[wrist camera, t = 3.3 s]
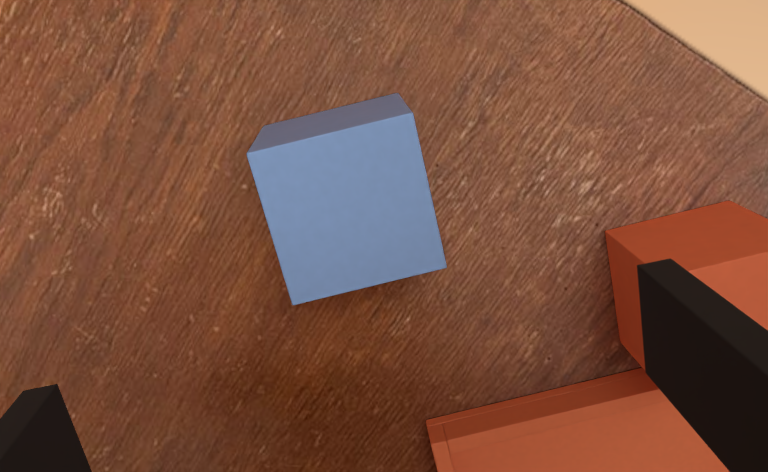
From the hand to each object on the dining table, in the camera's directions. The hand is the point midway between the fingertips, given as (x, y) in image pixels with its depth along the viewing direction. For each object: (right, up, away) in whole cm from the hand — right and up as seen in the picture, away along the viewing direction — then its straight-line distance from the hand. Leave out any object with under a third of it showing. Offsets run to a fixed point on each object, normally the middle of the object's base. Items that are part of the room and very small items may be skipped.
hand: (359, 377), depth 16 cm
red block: (+14, +1, +18) cm, 23 cm away
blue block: (-1, +6, +15) cm, 16 cm away
